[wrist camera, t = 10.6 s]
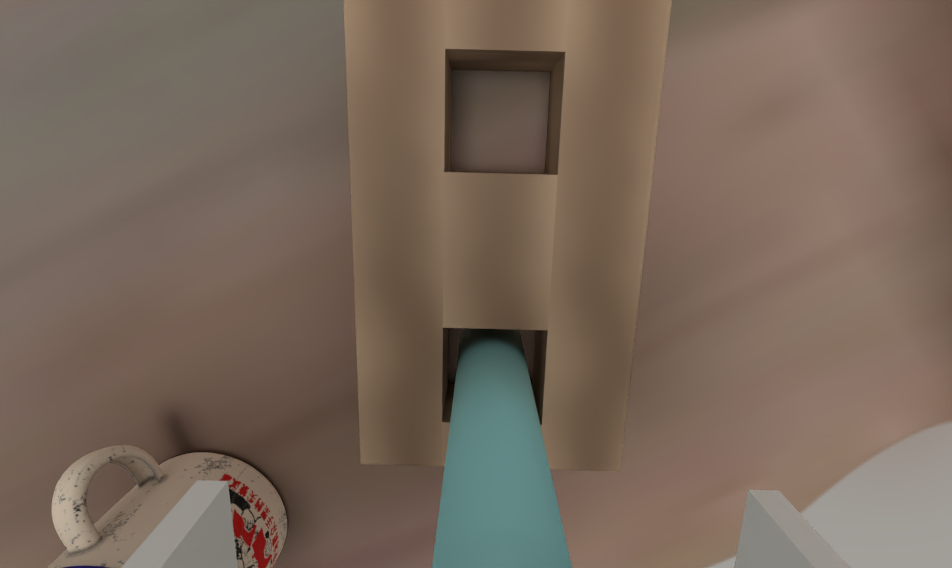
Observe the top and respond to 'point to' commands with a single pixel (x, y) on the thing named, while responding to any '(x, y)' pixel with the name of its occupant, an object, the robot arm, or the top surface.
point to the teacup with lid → (162, 507)
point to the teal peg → (496, 465)
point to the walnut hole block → (500, 214)
